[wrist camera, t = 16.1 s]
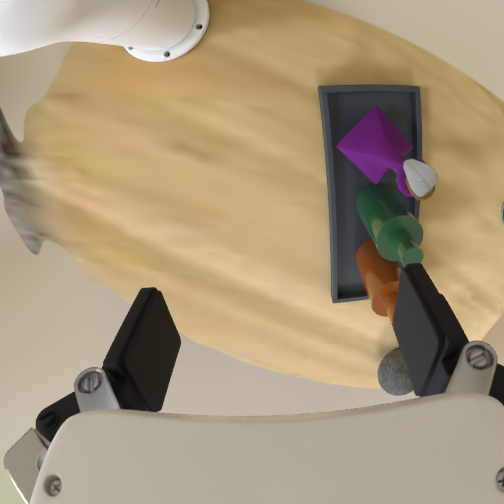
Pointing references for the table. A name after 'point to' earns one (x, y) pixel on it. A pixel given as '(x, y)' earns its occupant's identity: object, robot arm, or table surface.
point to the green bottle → (390, 224)
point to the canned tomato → (502, 213)
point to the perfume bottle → (387, 155)
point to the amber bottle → (378, 278)
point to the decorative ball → (394, 374)
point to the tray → (352, 178)
